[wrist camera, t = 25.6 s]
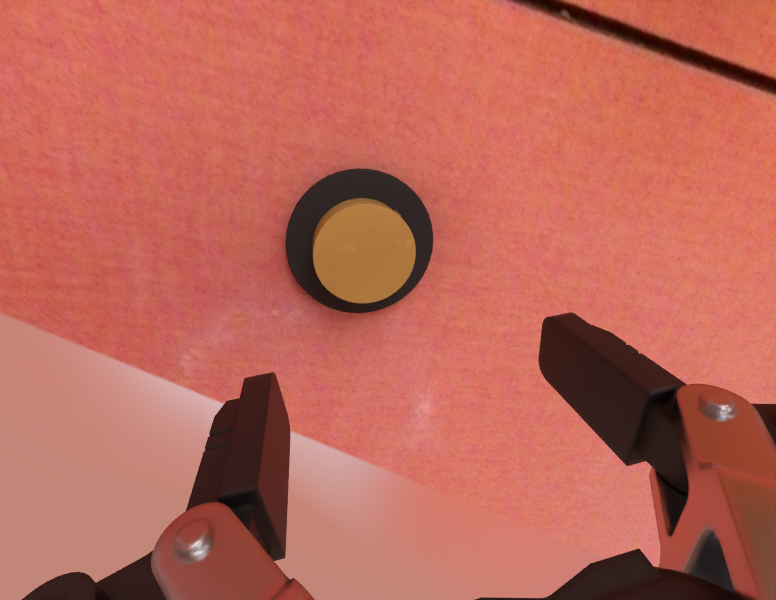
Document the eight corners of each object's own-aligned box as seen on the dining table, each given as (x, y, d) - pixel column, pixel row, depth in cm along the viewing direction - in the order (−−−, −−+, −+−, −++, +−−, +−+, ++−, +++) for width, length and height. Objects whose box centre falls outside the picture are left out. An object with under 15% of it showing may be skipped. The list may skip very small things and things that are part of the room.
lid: (359, 174, 20) (364, 179, 19) (427, 241, 23) (437, 250, 21) (291, 251, 21) (290, 262, 20) (363, 307, 24) (368, 321, 22)
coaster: (365, 332, 25) (366, 337, 25) (254, 252, 22) (253, 255, 21) (457, 237, 24) (461, 240, 23) (355, 132, 20) (357, 132, 19)
